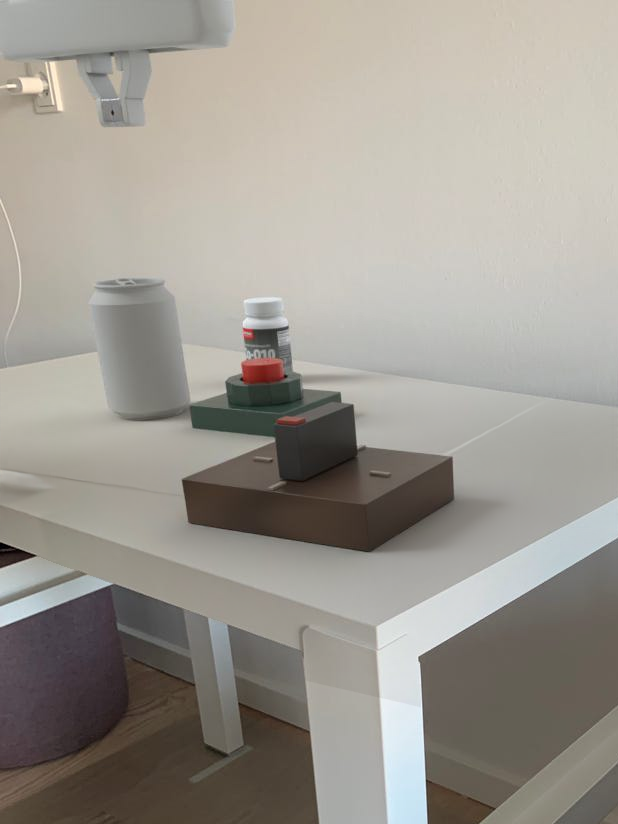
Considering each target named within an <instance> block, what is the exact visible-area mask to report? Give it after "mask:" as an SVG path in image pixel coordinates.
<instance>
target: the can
mask: <svg viewBox="0 0 618 824" xmlns="http://www.w3.org/2000/svg"><path fill="white" fill-rule="evenodd" d="M165 284H166V280H165V279H164V278H160V277H129V278H127V277H119V278H116V279H107V280H101V281H97V282H94V283H93V284H92V287H93V288H94V291H95V292H94V293H93V295H92V296H91V297H90V299H89V301H88V303H87V304H88V309H89V313H90V314H89V315H90V319H91V324H92V329H93V334H94V340H95V347H96V350H97V356H98V362H99V366H100V367H99V368H100V372H101V376H102V382H103V387H104V392H105V398H106V404H107V409H108V410H110V411H111V412H113V413H114V414H116V415H117V416H118V418H120V419H124V420H132V421H148V420H158V419H164V418H168V417H169V418H170V417H173V416H176V415H179V414H181V413H183V412H184V410H185V409H186V407H187V406H189V405H190V404H191V394H190V388H189V382H188V381H189V380H188V375H187V368H186V361H185V356H184V349H183V341H182V336H181V330H180V322H179V317H178V310H177V303H176V296H175V295H174V294H173V293H172V292H170V290H168V288H167V287H165Z"/></svg>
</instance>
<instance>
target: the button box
mask: <svg viewBox="0 0 618 824" xmlns="http://www.w3.org/2000/svg"><path fill="white" fill-rule="evenodd" d="M284 378H285V379H282V380H279V381H272V382H258V383H251V382H243V375H242V373H238V374H234V375H231V376H228V377H227V378H226V380H225V381H224V382H225V390H226V392H224V393H221V394H218V395H215V396H212V397H209V398H206V399H202V400H199V401H197V402H193V403H189V404H188V408H189V413H190V420H191V421H190V422H191V426H192V427H191V428H192V429H195V430H196V429H197V430H205V431H213V432H223V433H231V434H232V433H233V434H239V435H240V434H241V435H243V434H244V435H249V436H250V435H251V436H260V437H268V438H275V434H274V426H273V425H274V424H275V423H277V419H280V418H282V417H285V416H290V417H293V416H296V415H299V414H301V413H304V412H307V411H309V410H312V409H315V408H317V407H320V406H322V405H325V404H328V403H330V402H337V403H343V402H342V392H341V391H333V390H324V389H323V390H320V389H310V388H304V386H303V385H304V384H303V376H302V374H301V373H299V372H296V371H294V370H293V371H284Z"/></svg>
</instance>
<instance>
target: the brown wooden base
mask: <svg viewBox="0 0 618 824" xmlns="http://www.w3.org/2000/svg"><path fill="white" fill-rule="evenodd" d="M357 452H358V455H357V456H355V457H352V458H350V459H348V460H346V461H344V462H342V463H340V464H338V465H336V466H333V467H331V468H329V469H327V470H325V471H323V472H321V473H319V474H317V475H314V476H312V477H310V478H308V479H306V480H304V481H297V480H289V479H282V478H280V477H279V468H278V460H277V451H276V443H275V441H272V442H270V443H267V444H265V445H262V446H261V447H258V448H255V449H253V450H250V451H248V452H245V453H242V454H240V455H238V456H235V457H233V458H231V459H228V460H226V461H223V462H220V463H218V464H215V465H213V466H210V467H208V468H205V469H203V470H200V471H197V472H195V473H193V474H191V475H188V476H185V477H182V478H181V486H182V492H183V497H184V498H183V499H184V505H185V508H186V516H187V523H189V524H195V525H201V526H207V527H214V528H219V529H226V530H232V531H239V532H244V533H249V534H257V535H264V536H270V537H275V538H282V539H288V540H294V541H300V542H305V543H313V544H319V545H325V546H331V547H338V548H343V549H350V550H357V551H363V552H369V553H370V552H371V551H373V550H375V549H376V548H378V547H379V546H381V545H383V544H384V543H386V542H387V541H389V540H390V539H392V538H394V537H395V536H397V535H399V534H400V533H401V532H403V531H405V530H406V529H408V528H410V527H412V526H413V525H415V524H416V523H419V521H421V520H423V519H424V518H426V517H428V516H429V515H431V514H433V513H434V512H436V511H437V510H438V509H441V508H442V507H443V506H445V505H447V504H448V503H450V502H451V501H453V500H454V499H455V487H454V460H453V456H451V455H442V454H434V453H433V454H432V453H425V452H414V451H405V450H397V449H396V450H395V449H387V448H378V447H371V446H370V447H369V446H367V445H366V444H359V445H357Z"/></svg>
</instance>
